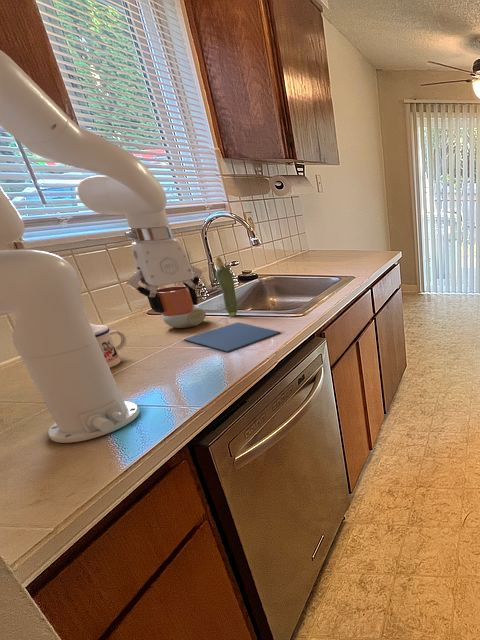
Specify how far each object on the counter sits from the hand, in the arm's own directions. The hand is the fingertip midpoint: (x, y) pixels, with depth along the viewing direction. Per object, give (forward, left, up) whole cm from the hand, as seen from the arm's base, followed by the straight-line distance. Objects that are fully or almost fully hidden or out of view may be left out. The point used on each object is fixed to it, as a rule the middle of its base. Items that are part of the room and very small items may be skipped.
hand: (176, 307), depth 101 cm
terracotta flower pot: (0, 0, -1) cm, 1 cm away
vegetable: (+19, -25, -12) cm, 34 cm away
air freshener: (+23, -12, -12) cm, 29 cm away
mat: (0, -12, -12) cm, 17 cm away
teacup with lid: (+11, +14, -12) cm, 22 cm away
